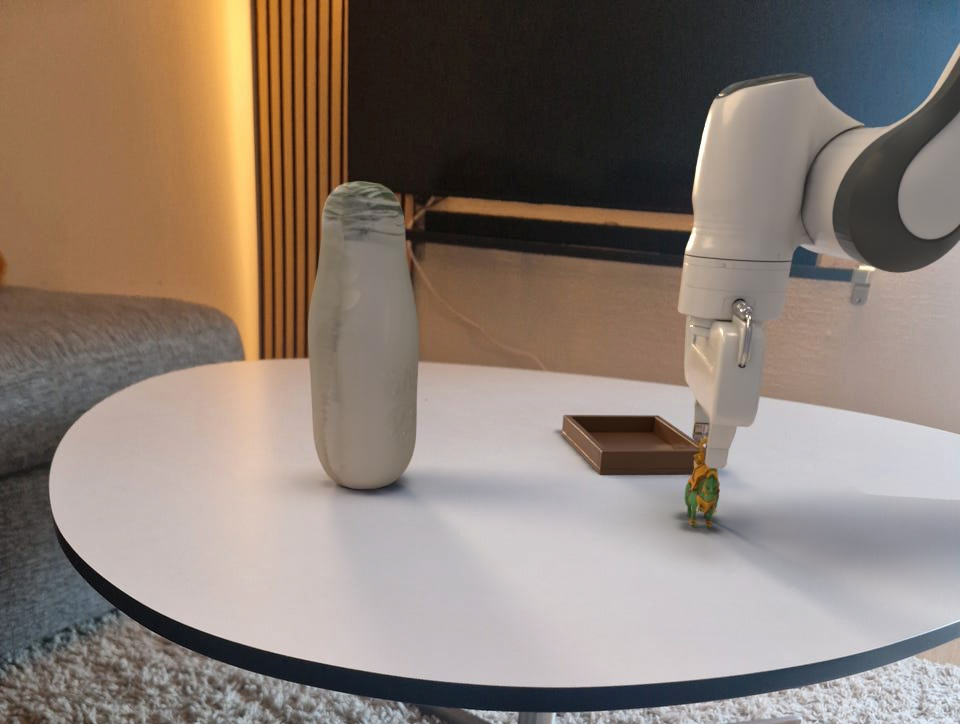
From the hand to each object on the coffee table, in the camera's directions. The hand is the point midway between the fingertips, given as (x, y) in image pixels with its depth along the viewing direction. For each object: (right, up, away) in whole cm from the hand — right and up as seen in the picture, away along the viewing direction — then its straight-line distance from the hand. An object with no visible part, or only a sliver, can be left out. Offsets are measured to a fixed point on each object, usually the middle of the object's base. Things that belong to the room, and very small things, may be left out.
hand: (707, 453), depth 85 cm
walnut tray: (-3, +5, +26) cm, 26 cm away
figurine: (0, -6, +3) cm, 7 cm away
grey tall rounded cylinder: (-33, -2, +10) cm, 34 cm away
